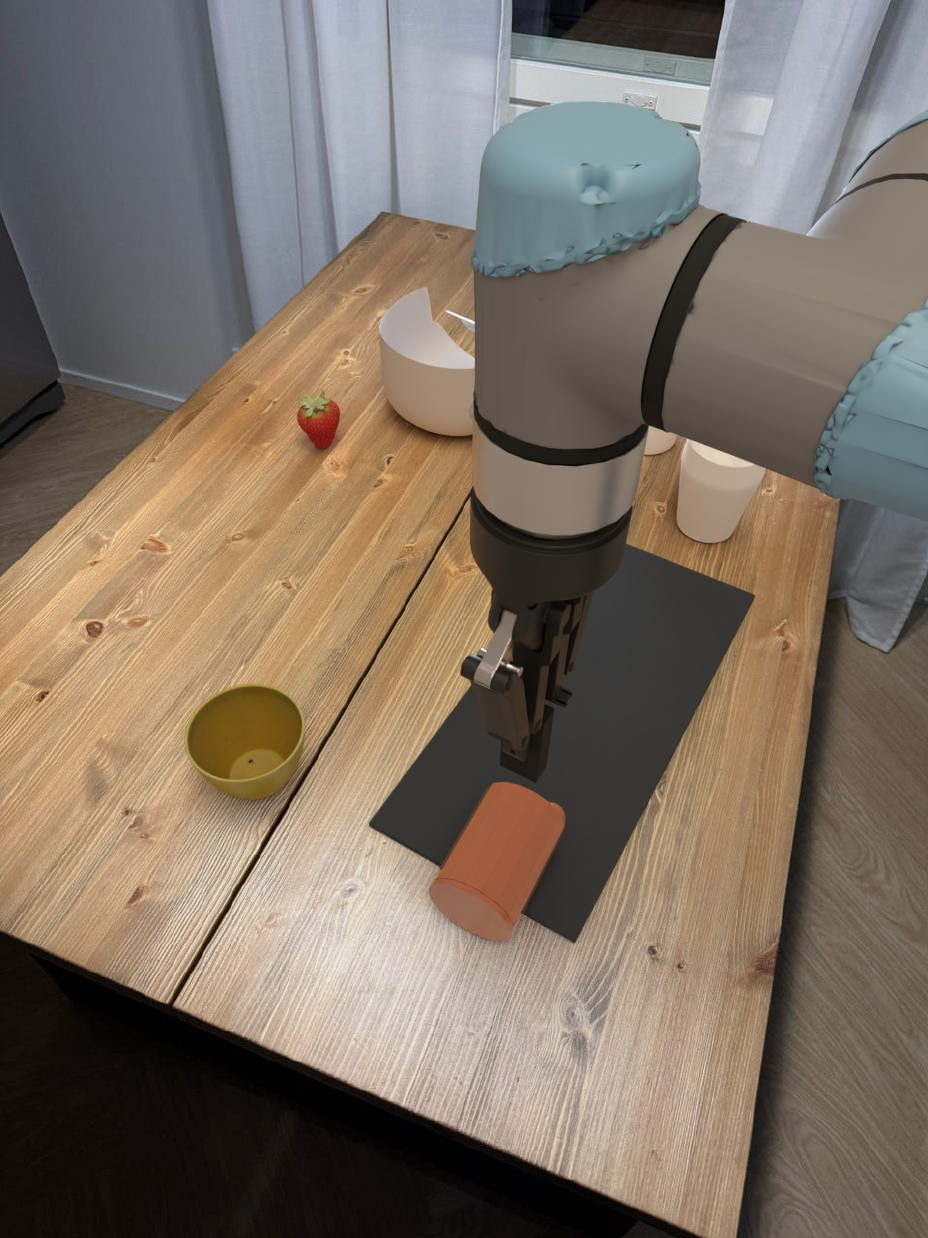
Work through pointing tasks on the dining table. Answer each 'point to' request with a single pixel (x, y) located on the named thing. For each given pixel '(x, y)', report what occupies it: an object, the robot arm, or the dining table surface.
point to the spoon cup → (497, 861)
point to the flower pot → (246, 740)
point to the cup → (713, 492)
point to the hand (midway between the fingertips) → (523, 765)
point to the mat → (586, 732)
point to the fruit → (319, 419)
